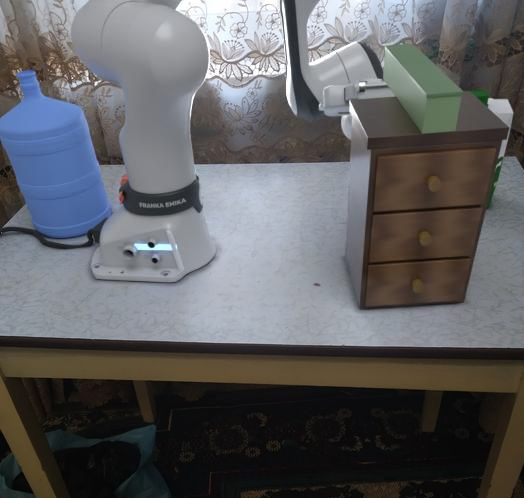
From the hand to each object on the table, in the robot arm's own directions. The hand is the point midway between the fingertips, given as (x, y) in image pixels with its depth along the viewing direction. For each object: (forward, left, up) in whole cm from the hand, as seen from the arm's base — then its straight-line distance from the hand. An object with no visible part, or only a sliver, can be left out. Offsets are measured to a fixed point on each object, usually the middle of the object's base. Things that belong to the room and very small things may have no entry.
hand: (389, 84), depth 84 cm
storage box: (0, -15, +2) cm, 15 cm away
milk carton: (+19, +6, -24) cm, 32 cm away
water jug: (-61, +9, -24) cm, 66 cm away
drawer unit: (0, -20, -24) cm, 31 cm away
